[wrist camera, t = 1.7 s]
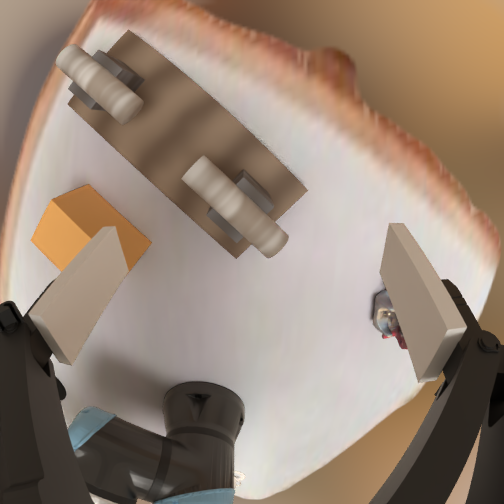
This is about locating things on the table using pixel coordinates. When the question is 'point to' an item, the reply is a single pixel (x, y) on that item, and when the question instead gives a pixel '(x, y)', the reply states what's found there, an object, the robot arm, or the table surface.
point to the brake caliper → (387, 319)
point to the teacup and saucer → (238, 479)
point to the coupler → (83, 227)
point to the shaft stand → (183, 143)
